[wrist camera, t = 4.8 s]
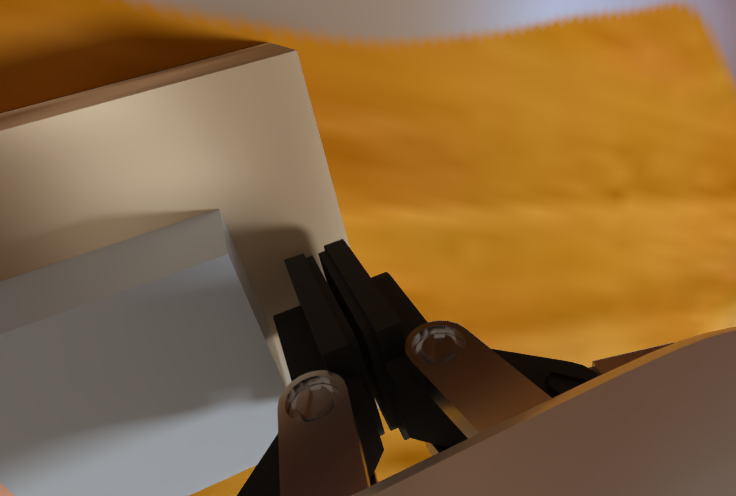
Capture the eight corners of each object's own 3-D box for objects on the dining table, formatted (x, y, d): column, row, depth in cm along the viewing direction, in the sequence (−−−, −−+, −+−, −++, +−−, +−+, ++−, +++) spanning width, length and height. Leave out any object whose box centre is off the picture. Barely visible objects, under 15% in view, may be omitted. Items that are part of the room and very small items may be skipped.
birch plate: (-64, 512, 16) (-128, 640, 13) (-437, 228, 10) (-748, 334, 7) (356, 337, 19) (391, 403, 16) (268, 42, 13) (296, 50, 10)
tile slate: (90, 461, 13) (73, 548, 11) (-53, 299, 10) (-117, 375, 8) (290, 377, 14) (309, 441, 12) (219, 209, 11) (228, 254, 9)
